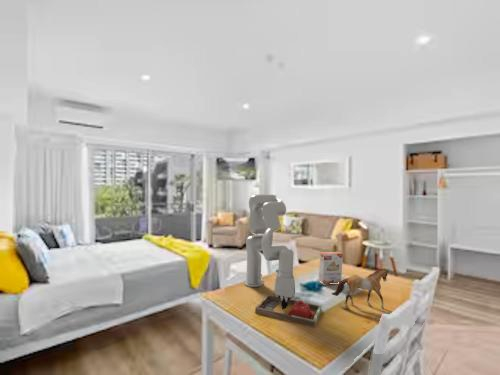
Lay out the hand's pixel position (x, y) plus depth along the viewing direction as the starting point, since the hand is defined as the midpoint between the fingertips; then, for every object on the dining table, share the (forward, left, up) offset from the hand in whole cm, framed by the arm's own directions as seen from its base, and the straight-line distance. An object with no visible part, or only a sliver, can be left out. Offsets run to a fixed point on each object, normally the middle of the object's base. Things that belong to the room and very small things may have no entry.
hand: (284, 308), depth 141 cm
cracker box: (-51, +16, -2) cm, 53 cm away
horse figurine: (-27, +35, -2) cm, 44 cm away
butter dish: (+2, +9, -2) cm, 10 cm away
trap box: (0, +2, -1) cm, 3 cm away
